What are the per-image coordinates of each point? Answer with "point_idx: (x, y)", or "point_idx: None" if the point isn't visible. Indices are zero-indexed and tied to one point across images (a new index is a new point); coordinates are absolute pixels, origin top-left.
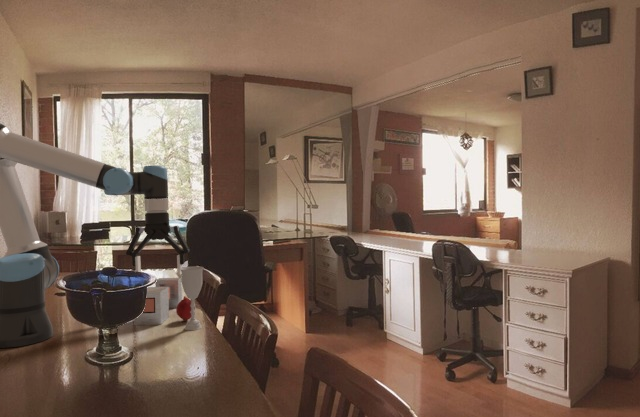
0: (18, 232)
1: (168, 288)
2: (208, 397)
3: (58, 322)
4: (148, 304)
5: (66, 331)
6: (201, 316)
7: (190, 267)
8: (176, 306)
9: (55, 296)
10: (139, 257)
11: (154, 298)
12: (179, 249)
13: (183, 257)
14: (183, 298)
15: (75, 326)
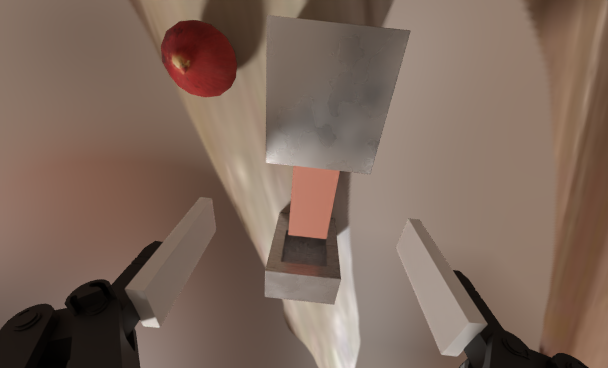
0: None
1: (289, 221)
2: None
3: (593, 135)
4: None
5: (597, 5)
6: (190, 108)
7: None
8: (284, 215)
9: (549, 344)
10: (444, 335)
11: None
12: (75, 349)
13: (118, 281)
14: (186, 58)
15: (555, 73)
